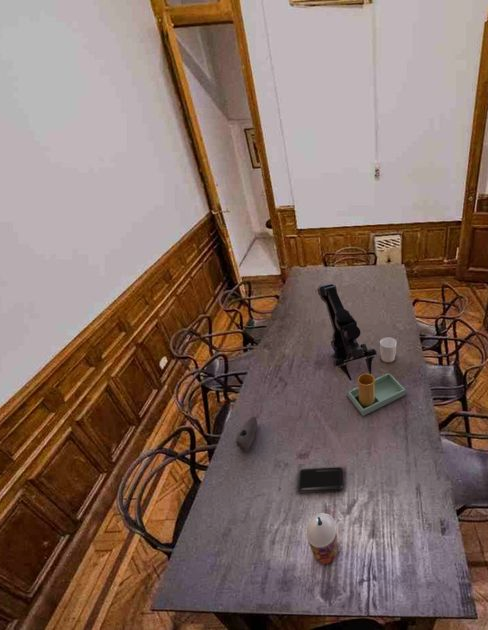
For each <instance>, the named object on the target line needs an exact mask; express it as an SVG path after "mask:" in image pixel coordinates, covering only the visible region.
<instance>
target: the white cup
mask: <svg viewBox="0 0 488 630" xmlns="http://www.w3.org/2000/svg"><path fill="white" fill-rule="evenodd" d="M379 349H380V351H379V352H380V359H381V360H382V361H383V362H384V363H392V362H393V361H395V359H396V353H397V339H395V338H393V337H390V336H389V337H387V336H386V337H383V338H381V339H380V341H379Z"/></svg>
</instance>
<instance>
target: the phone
mask: <svg viewBox="0 0 488 630" xmlns="http://www.w3.org/2000/svg"><path fill="white" fill-rule="evenodd" d="M343 488H344V469H343V468H342V467H340V466H339V467H317V468H302V469H300V471H299V475H298V485H297V490H298V492H299V493H300V494H301V493H324V492H325V493H326V492H341V491H342V490H343Z"/></svg>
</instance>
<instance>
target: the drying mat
mask: <svg viewBox="0 0 488 630" xmlns="http://www.w3.org/2000/svg"><path fill="white" fill-rule="evenodd" d="M354 398H355V399H356V400H357V401H358V403H359V404H360V405H361V407H362V408H363V409H365V408H367V407H369V406H371V405H369V406H364V405H362V404H361V403H360V402H359V396H357V397H354ZM377 402H379V401H378V399H377V398H376V397H375V401H374V403H373V404H375V403H377ZM373 404H372V405H373Z"/></svg>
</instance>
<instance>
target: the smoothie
mask: <svg viewBox="0 0 488 630" xmlns="http://www.w3.org/2000/svg"><path fill="white" fill-rule="evenodd" d="M337 532H338V526H337V522H336V520H335V518H334V517H333V516H331V515H330V514H328V513H318V514H315V515H314V516H312V517H311V518H310V520H309V521H308V522H307V524H306V526H305V538H306V540H307V542H308V544H309V547H310V549H311V552H312V554H313V557H314V558H315V560H316V561H317V562H318V563H319V564H322V565H327V564H329V563H331V562H332V561H334V559H335V557H336V556H337V553H338V533H337Z"/></svg>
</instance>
